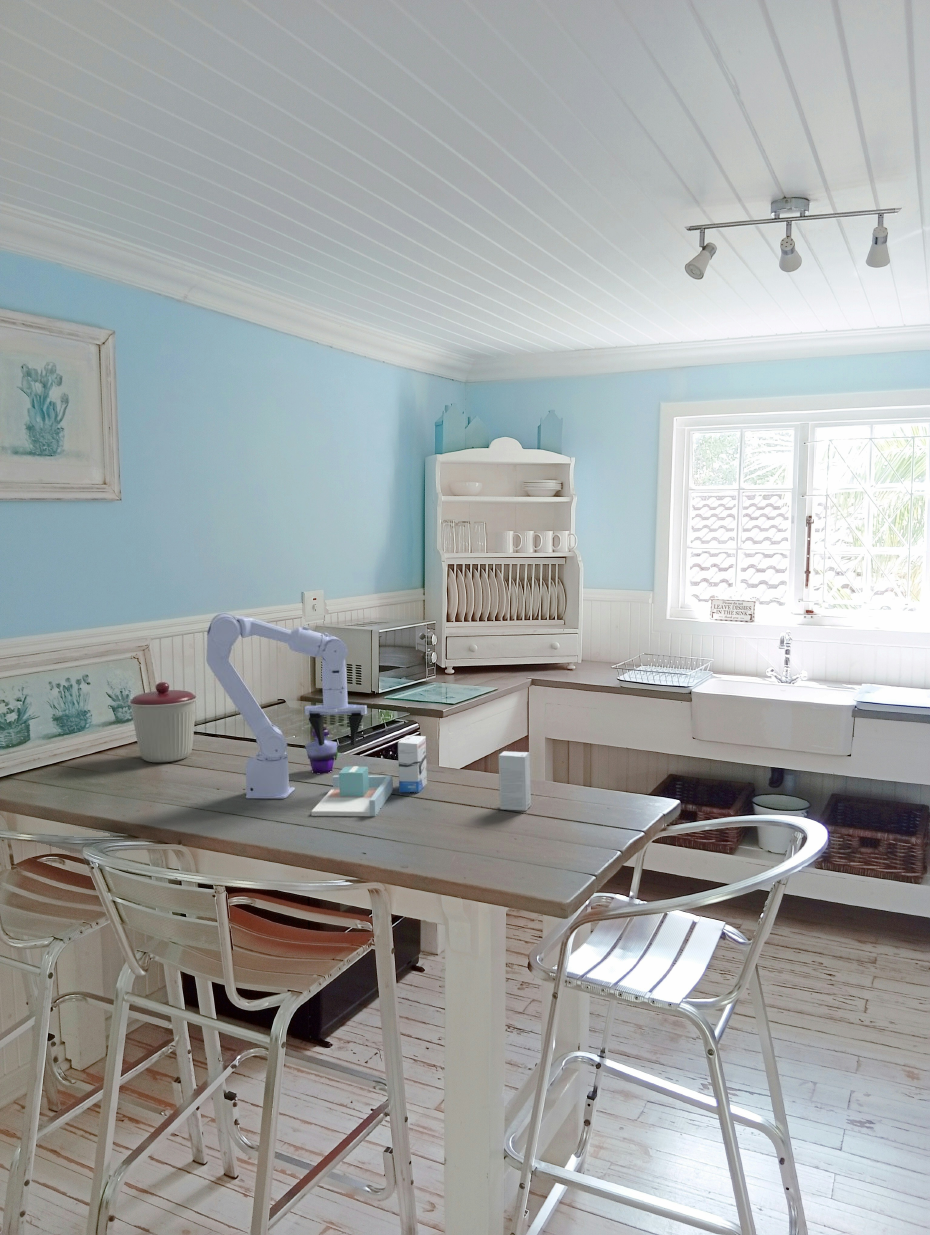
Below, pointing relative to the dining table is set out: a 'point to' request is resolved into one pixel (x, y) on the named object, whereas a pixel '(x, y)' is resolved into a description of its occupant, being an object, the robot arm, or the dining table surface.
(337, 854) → the dining table surface
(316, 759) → the potion bottle
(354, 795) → the cube
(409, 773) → the ink box
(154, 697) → the canister
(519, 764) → the skincare box
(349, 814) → the tray
